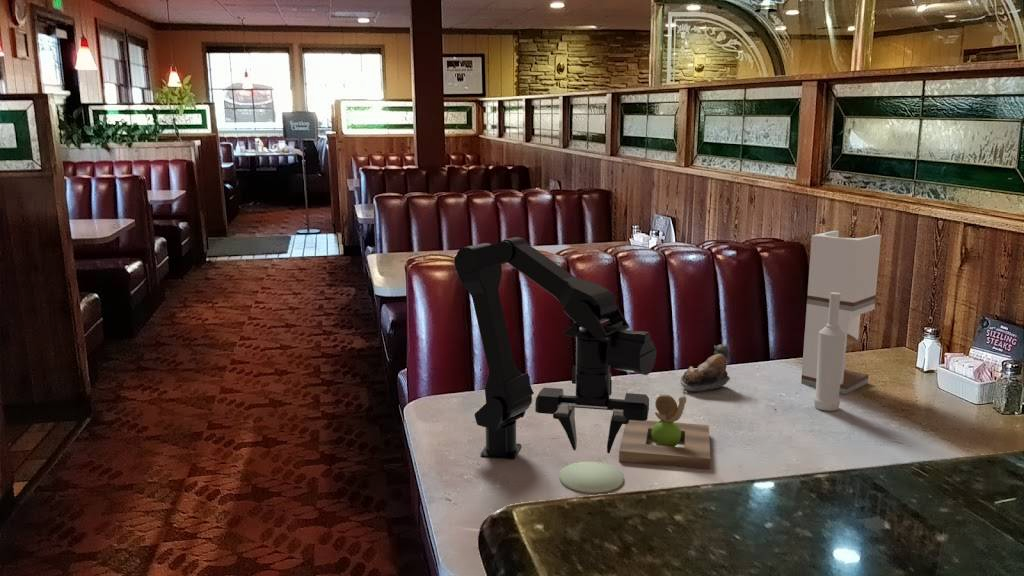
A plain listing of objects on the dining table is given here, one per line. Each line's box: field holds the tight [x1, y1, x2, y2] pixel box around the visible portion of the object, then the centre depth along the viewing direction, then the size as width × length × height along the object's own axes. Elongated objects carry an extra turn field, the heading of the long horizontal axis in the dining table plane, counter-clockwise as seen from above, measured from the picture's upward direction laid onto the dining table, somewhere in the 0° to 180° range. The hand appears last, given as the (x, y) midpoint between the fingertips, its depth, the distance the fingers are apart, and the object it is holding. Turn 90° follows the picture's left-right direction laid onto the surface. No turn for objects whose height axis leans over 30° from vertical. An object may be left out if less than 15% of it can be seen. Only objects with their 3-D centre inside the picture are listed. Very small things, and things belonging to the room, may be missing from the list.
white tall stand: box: [800, 230, 882, 395], centre depth 180 cm, size 11×11×35 cm
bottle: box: [813, 292, 845, 412], centre depth 165 cm, size 5×5×25 cm
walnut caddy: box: [618, 419, 711, 470], centre depth 147 cm, size 16×16×2 cm
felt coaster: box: [559, 461, 625, 494], centre depth 135 cm, size 11×11×1 cm
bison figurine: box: [680, 343, 731, 392], centre depth 179 cm, size 12×7×10 cm, turn 112°
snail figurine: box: [651, 389, 688, 447], centre depth 146 cm, size 5×6×12 cm
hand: (591, 450), depth 134 cm, fingers open, 5 cm apart
